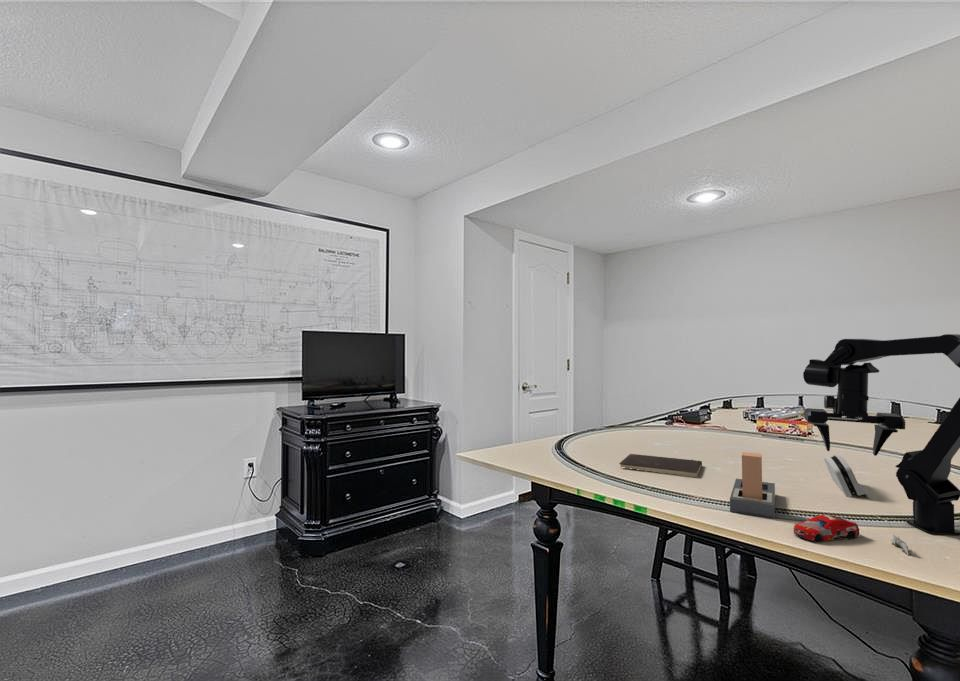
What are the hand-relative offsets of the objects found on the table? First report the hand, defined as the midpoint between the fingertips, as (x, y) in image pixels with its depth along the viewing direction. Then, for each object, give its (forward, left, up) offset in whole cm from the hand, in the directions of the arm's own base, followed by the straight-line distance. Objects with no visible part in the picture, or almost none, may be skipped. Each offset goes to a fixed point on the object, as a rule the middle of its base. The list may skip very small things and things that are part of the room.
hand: (851, 453), depth 114 cm
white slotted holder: (+14, -7, -13) cm, 21 cm away
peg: (-4, +25, -13) cm, 28 cm away
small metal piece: (-26, +6, -13) cm, 30 cm away
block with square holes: (0, +23, -13) cm, 26 cm away
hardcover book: (+34, +37, -14) cm, 52 cm away
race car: (-20, +17, -13) cm, 30 cm away
